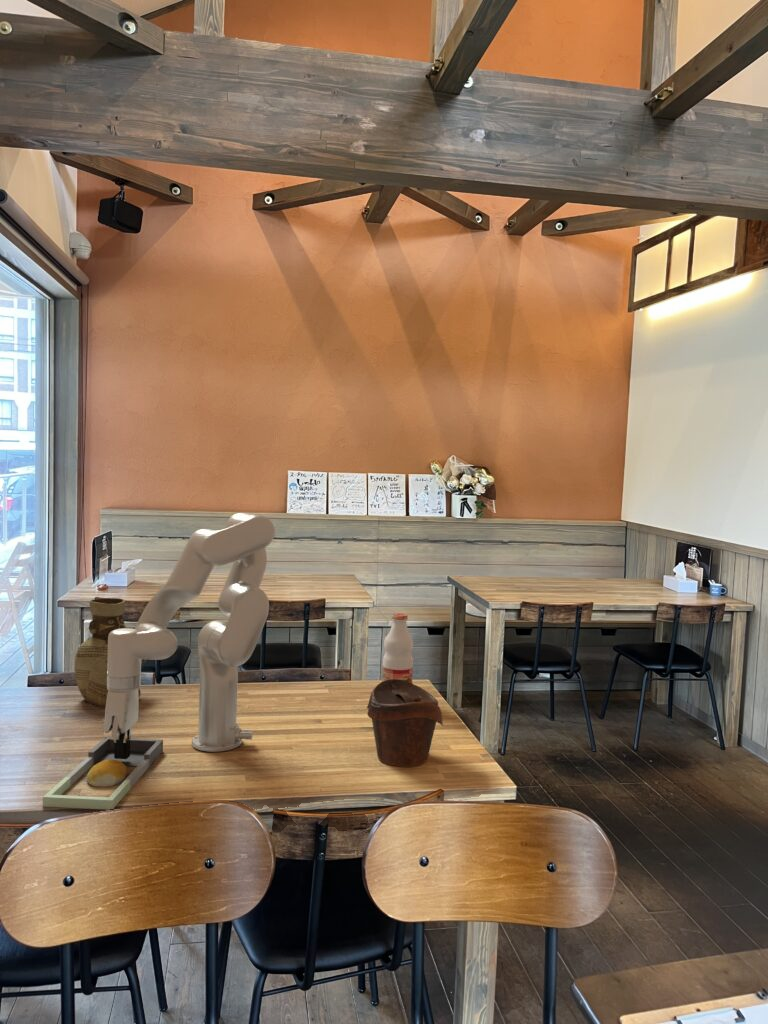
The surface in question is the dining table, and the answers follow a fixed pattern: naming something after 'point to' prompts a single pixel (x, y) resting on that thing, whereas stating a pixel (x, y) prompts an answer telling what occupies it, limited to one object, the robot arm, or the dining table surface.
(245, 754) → the dining table surface
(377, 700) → the brown trash bin
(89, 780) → the bread roll
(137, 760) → the channel
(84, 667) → the ceramic vessel
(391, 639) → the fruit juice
